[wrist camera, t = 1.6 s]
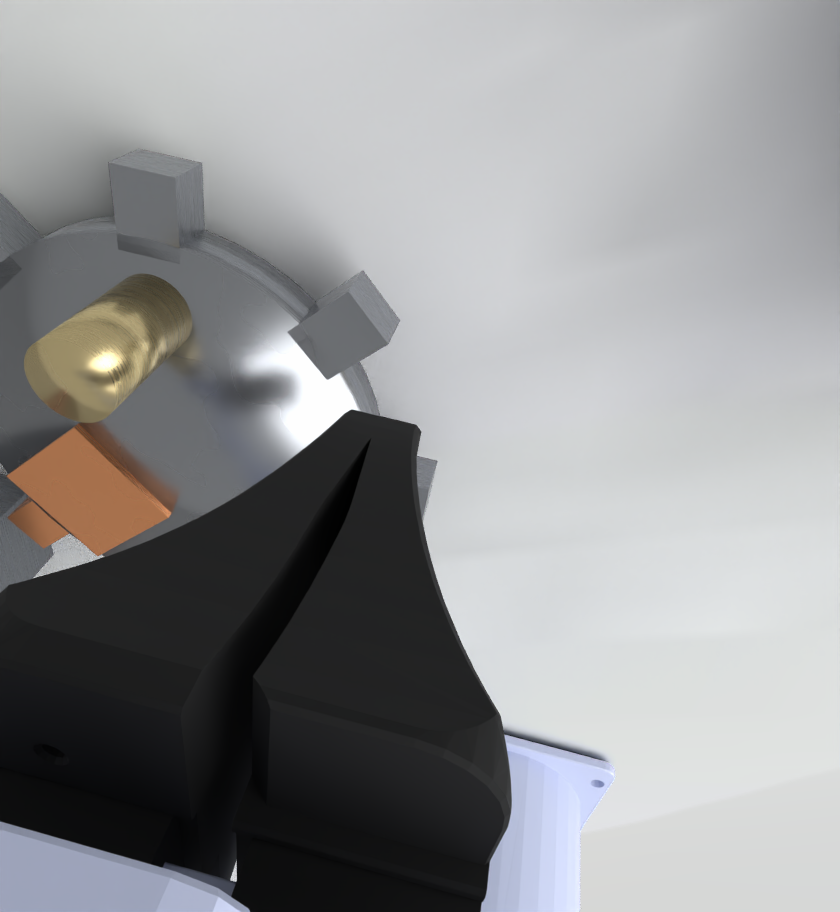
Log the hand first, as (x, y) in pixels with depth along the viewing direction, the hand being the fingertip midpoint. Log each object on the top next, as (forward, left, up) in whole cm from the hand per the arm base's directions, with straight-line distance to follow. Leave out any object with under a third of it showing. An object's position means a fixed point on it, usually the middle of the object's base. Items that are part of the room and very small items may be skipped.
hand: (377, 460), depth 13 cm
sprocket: (-4, +6, -4) cm, 8 cm away
